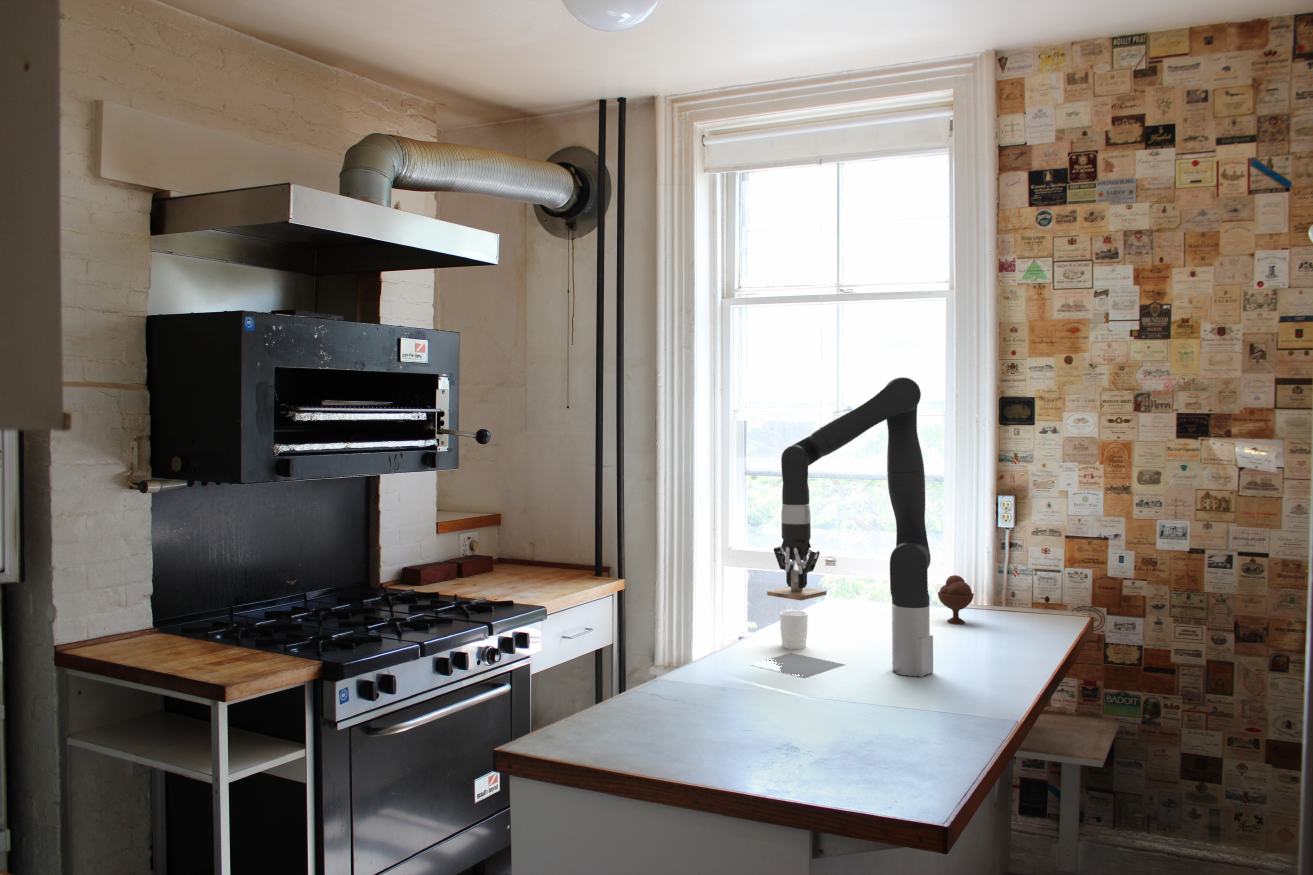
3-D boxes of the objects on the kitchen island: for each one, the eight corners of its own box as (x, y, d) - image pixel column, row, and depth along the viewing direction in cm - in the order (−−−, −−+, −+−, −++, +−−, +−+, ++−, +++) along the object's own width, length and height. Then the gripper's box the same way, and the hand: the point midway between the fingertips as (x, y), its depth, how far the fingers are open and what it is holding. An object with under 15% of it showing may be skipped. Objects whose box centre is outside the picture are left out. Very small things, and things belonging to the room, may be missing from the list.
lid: (826, 594, 231) (826, 569, 231) (801, 600, 224) (800, 574, 224) (792, 589, 239) (792, 565, 239) (767, 595, 232) (766, 570, 232)
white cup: (799, 652, 247) (799, 616, 247) (775, 648, 251) (774, 613, 251) (812, 646, 253) (812, 612, 253) (788, 643, 258) (788, 608, 258)
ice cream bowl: (930, 620, 286) (930, 574, 286) (957, 617, 291) (956, 572, 291) (954, 627, 277) (954, 579, 277) (981, 623, 281) (981, 576, 281)
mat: (845, 666, 231) (845, 664, 231) (804, 679, 219) (804, 677, 219) (790, 654, 244) (790, 652, 244) (748, 666, 232) (748, 664, 232)
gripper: (826, 521, 229) (827, 588, 229) (783, 518, 239) (784, 582, 239) (809, 524, 224) (810, 592, 224) (765, 520, 234) (766, 585, 234)
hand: (796, 586), depth 232 cm, fingers closed on lid, 3 cm apart
